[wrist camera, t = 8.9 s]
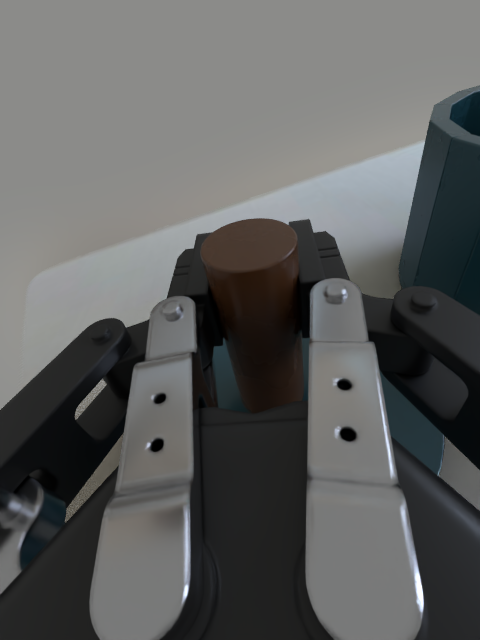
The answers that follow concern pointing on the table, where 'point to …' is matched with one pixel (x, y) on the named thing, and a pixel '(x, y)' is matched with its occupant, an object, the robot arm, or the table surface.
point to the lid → (280, 331)
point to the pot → (447, 205)
